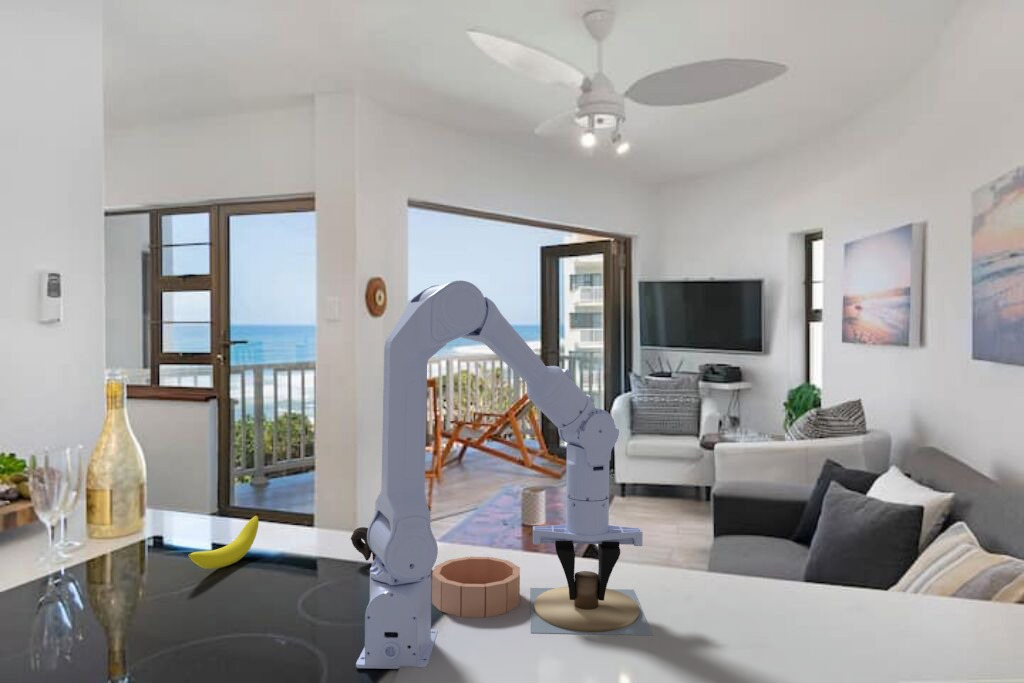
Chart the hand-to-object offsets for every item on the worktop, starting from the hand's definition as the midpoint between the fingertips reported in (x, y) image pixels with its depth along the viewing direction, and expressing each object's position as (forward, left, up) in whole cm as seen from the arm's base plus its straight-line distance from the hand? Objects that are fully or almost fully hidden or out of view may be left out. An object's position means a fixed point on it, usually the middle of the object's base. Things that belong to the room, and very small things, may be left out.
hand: (586, 597), depth 91 cm
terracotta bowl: (+3, +15, -2) cm, 15 cm away
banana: (+16, +56, -2) cm, 58 cm away
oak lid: (0, 0, -2) cm, 2 cm away
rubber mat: (0, 0, -2) cm, 2 cm away
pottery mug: (+18, +31, -2) cm, 36 cm away
